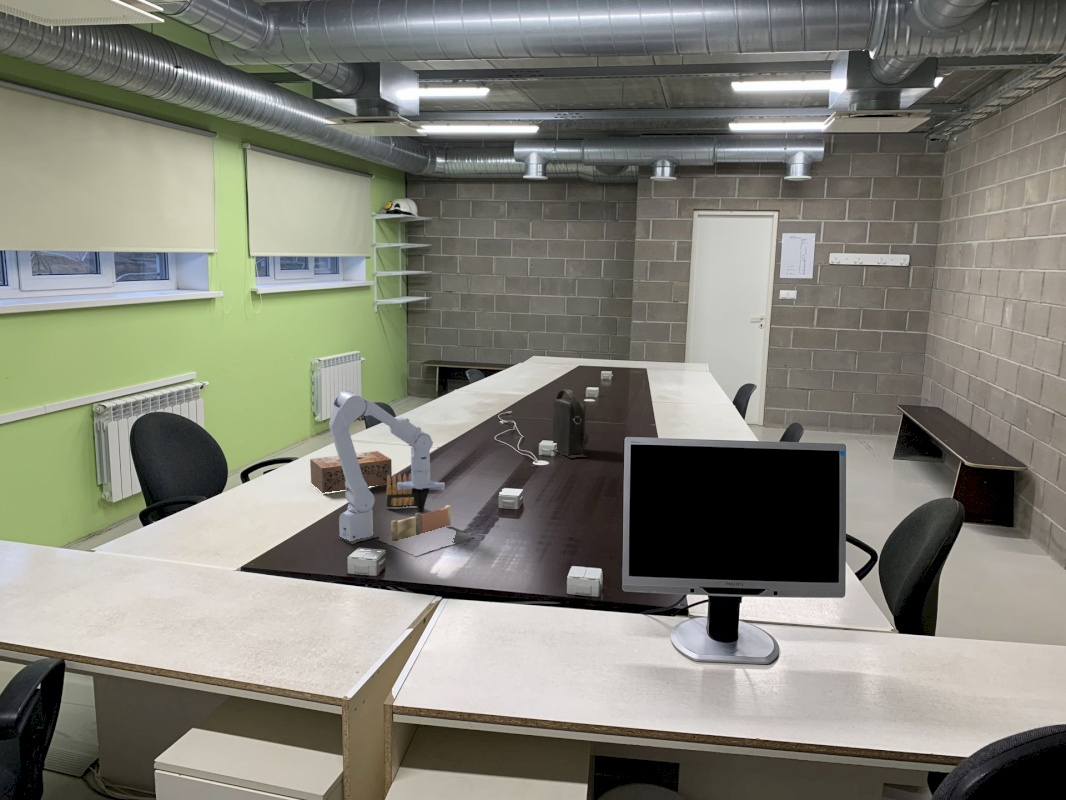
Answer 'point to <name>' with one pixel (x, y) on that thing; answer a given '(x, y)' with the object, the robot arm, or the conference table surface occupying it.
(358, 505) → the robot arm
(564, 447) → the shoulder bag
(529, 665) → the conference table surface
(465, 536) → the card
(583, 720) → the conference table surface
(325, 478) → the tissue box cover
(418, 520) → the fence base
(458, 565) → the conference table surface
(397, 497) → the ammunition clip
